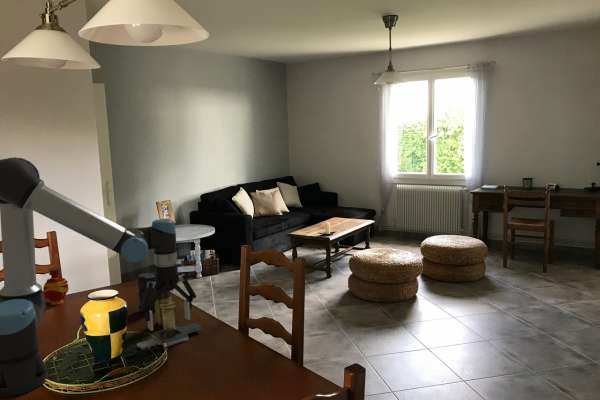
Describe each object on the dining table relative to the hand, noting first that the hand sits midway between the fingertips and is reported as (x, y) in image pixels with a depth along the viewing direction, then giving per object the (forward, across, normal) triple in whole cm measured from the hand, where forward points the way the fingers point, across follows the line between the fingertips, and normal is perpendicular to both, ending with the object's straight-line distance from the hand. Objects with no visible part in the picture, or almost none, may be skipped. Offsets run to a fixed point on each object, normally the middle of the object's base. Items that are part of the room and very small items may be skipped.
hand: (169, 323), depth 162 cm
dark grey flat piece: (+6, 0, 0) cm, 6 cm away
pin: (+6, 0, 0) cm, 6 cm away
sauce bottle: (+6, +5, +15) cm, 17 cm away
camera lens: (+6, +6, +32) cm, 33 cm away
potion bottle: (+6, -20, +70) cm, 73 cm away
